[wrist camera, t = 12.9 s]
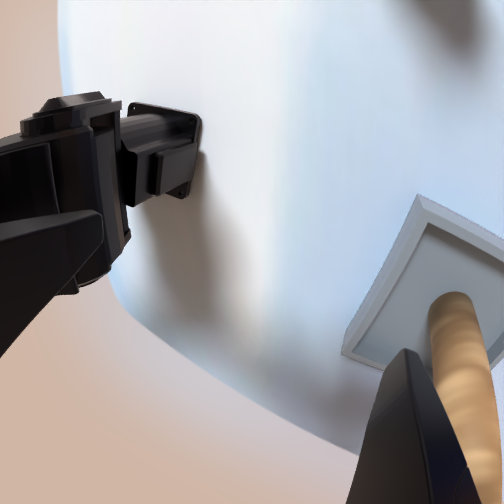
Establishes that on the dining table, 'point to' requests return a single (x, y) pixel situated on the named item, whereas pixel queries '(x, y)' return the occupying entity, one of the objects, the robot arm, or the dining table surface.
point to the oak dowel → (467, 389)
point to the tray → (430, 287)
